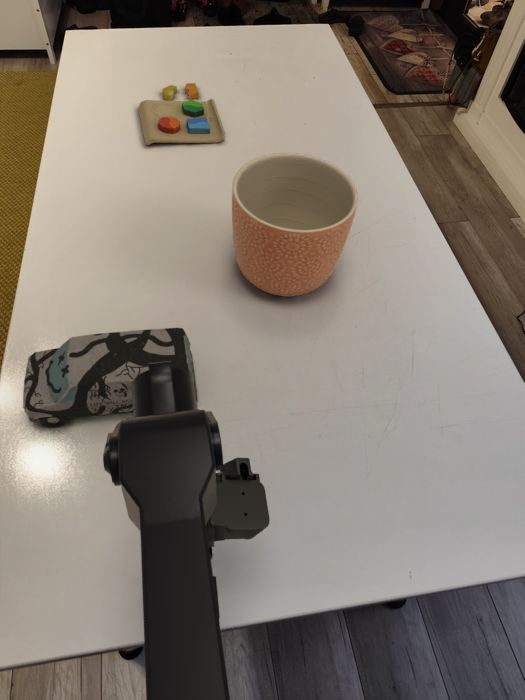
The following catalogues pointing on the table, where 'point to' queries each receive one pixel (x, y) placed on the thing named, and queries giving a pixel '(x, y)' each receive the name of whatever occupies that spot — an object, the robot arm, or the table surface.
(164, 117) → the shape puzzle
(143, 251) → the table surface
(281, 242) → the planter
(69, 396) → the toy car
